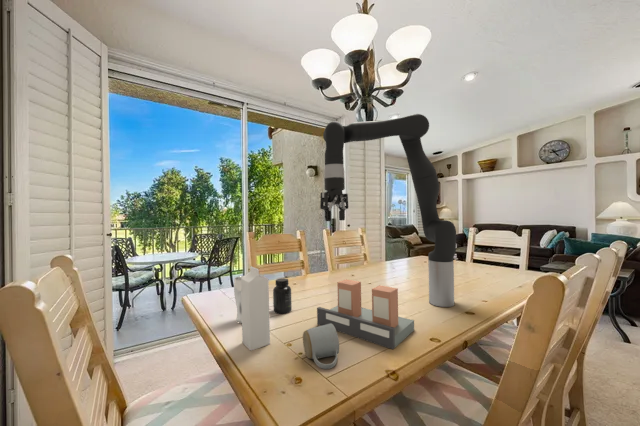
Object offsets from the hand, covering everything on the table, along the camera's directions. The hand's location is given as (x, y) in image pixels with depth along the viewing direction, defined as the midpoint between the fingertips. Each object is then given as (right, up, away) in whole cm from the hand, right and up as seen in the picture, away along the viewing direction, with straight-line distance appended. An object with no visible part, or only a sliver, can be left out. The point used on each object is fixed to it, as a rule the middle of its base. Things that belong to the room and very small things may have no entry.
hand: (335, 220), depth 102 cm
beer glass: (-32, -35, -6) cm, 48 cm away
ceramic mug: (-5, -35, -32) cm, 47 cm away
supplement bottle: (-20, -35, +2) cm, 40 cm away
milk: (-24, -35, -23) cm, 48 cm away
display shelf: (+9, -34, -13) cm, 38 cm away
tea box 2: (+14, -31, -20) cm, 39 cm away
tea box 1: (+4, -31, -11) cm, 33 cm away
